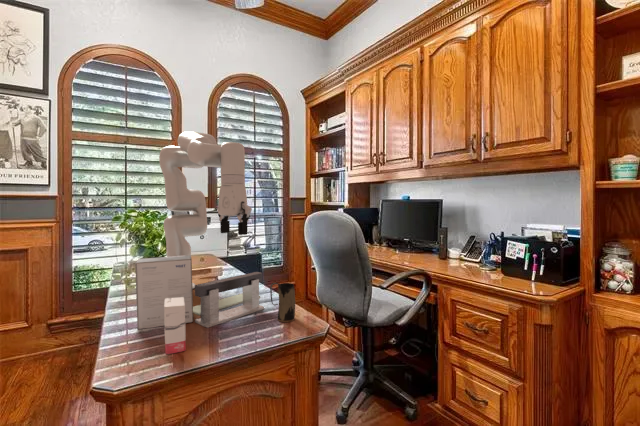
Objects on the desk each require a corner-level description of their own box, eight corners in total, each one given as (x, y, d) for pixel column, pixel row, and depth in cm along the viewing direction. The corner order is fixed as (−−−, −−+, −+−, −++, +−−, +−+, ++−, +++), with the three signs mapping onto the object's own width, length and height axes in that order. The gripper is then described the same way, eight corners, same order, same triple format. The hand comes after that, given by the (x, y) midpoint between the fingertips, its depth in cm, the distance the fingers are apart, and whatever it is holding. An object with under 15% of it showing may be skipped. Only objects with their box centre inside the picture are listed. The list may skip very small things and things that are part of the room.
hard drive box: (193, 314, 108) (192, 254, 107) (193, 322, 101) (192, 258, 100) (140, 320, 102) (138, 257, 102) (136, 330, 95) (134, 262, 94)
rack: (194, 322, 101) (194, 288, 101) (251, 304, 118) (251, 275, 118) (207, 327, 97) (206, 292, 96) (264, 308, 114) (264, 278, 113)
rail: (194, 295, 99) (194, 285, 99) (256, 280, 117) (256, 271, 117) (200, 297, 97) (200, 286, 97) (262, 281, 116) (262, 272, 115)
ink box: (186, 351, 82) (185, 305, 81) (164, 355, 80) (163, 307, 79) (184, 338, 90) (184, 295, 89) (165, 341, 88) (164, 297, 87)
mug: (291, 315, 108) (291, 279, 107) (297, 320, 103) (297, 283, 102) (268, 318, 105) (268, 281, 104) (273, 324, 99) (273, 285, 99)
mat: (186, 310, 112) (186, 308, 112) (247, 293, 132) (247, 292, 132) (198, 315, 107) (198, 313, 107) (260, 297, 127) (260, 295, 127)
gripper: (208, 182, 109) (209, 233, 110) (239, 179, 98) (240, 236, 98) (227, 182, 115) (228, 231, 115) (259, 180, 104) (259, 234, 104)
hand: (233, 233), depth 107 cm, fingers open, 9 cm apart
